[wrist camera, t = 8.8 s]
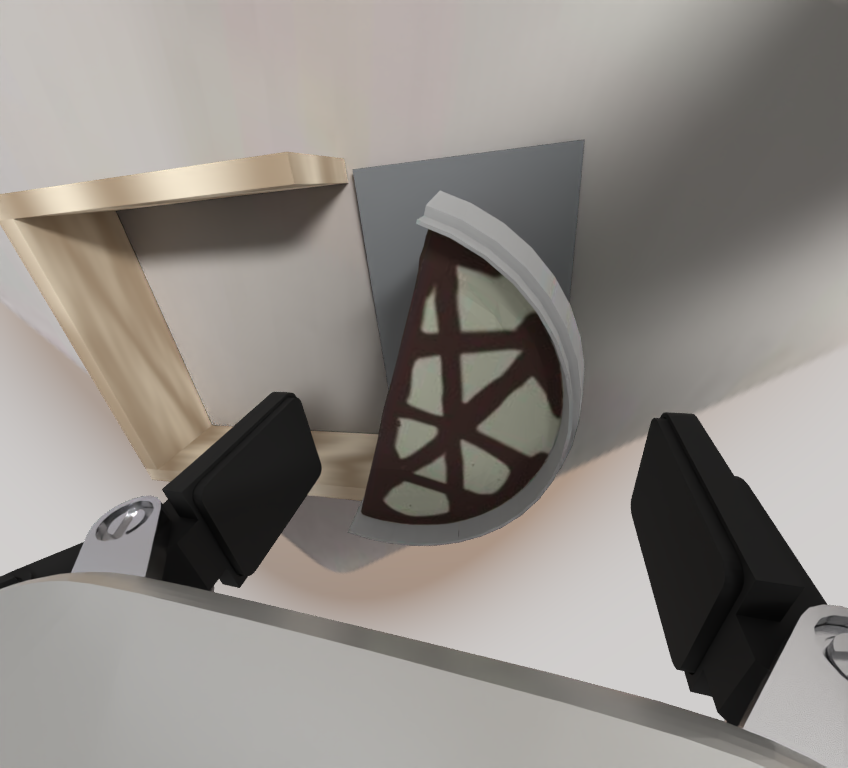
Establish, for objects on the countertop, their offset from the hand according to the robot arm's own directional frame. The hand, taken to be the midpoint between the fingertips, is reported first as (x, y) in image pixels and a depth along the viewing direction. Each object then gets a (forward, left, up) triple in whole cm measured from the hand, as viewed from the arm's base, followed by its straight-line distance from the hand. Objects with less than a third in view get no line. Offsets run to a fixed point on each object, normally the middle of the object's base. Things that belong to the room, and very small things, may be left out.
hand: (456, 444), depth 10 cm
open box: (+14, +1, -11) cm, 18 cm away
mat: (+1, 0, -11) cm, 11 cm away
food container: (0, +1, -11) cm, 11 cm away
